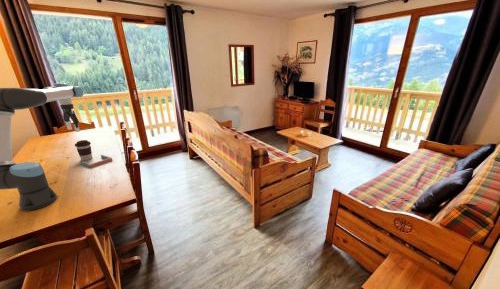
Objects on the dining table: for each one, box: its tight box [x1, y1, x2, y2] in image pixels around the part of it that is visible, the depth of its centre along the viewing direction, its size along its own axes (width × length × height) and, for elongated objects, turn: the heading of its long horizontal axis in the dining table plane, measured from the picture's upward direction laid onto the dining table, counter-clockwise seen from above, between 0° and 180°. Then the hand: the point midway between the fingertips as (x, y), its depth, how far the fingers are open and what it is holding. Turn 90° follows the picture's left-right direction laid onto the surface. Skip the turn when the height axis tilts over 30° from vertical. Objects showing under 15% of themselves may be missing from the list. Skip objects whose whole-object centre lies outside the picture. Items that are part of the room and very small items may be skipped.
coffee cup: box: [74, 139, 93, 161], centre depth 167 cm, size 10×10×15 cm
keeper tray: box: [79, 154, 113, 169], centre depth 162 cm, size 16×14×2 cm
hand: (74, 130), depth 168 cm, fingers open, 13 cm apart
